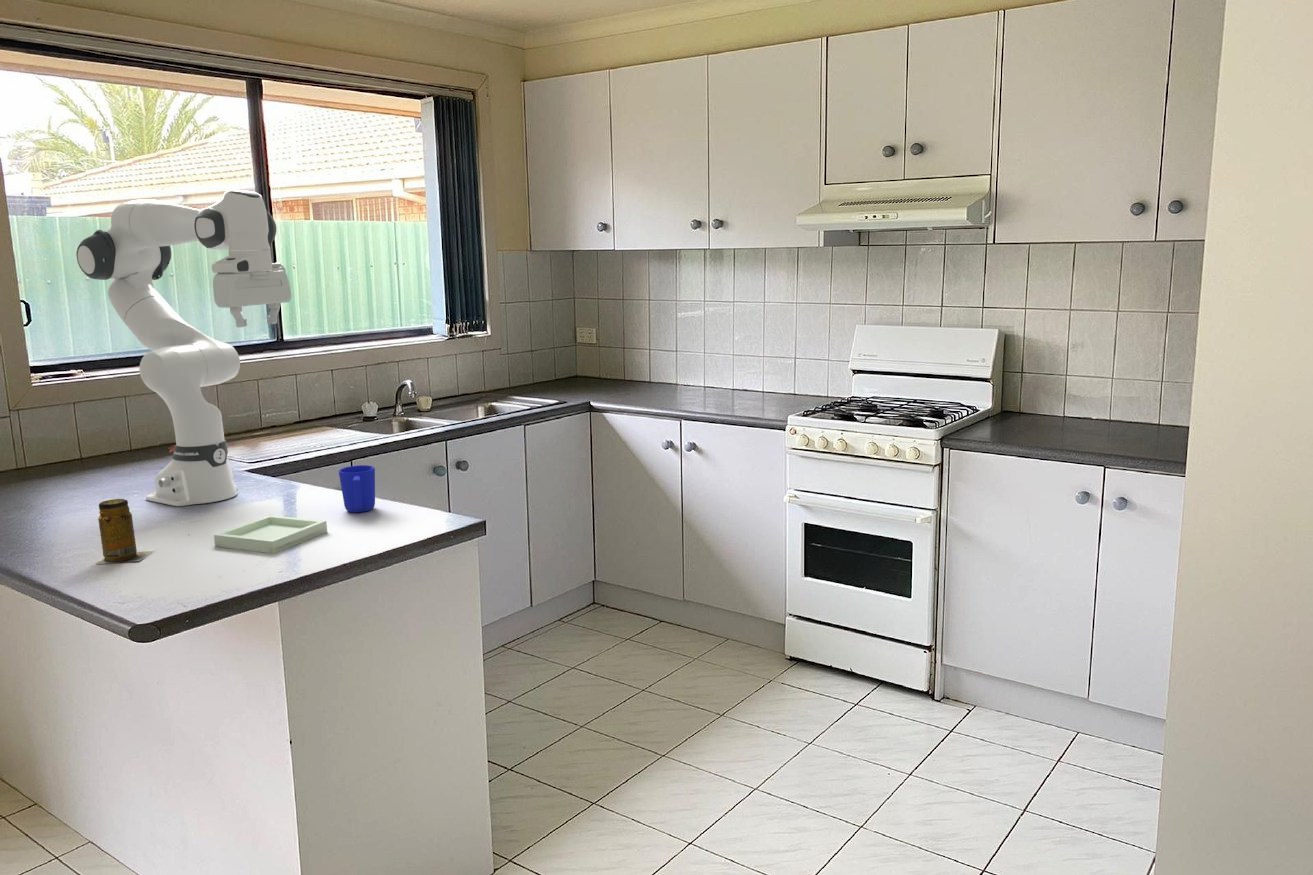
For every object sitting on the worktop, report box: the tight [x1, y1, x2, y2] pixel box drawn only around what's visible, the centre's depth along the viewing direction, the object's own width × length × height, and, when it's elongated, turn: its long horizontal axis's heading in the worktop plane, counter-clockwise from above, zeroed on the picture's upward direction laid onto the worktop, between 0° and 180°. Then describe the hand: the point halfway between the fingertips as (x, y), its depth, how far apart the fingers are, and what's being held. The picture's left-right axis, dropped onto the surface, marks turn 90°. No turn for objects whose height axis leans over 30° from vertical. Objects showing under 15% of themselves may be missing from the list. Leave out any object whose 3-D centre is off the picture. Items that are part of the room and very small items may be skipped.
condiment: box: [95, 498, 154, 565], centre depth 203 cm, size 7×8×12 cm
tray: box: [213, 514, 328, 554], centre depth 214 cm, size 16×16×2 cm
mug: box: [338, 464, 376, 513], centre depth 233 cm, size 8×12×10 cm
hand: (257, 325), depth 226 cm, fingers open, 8 cm apart
